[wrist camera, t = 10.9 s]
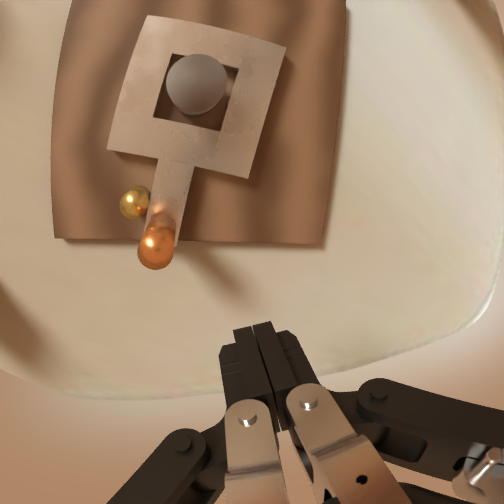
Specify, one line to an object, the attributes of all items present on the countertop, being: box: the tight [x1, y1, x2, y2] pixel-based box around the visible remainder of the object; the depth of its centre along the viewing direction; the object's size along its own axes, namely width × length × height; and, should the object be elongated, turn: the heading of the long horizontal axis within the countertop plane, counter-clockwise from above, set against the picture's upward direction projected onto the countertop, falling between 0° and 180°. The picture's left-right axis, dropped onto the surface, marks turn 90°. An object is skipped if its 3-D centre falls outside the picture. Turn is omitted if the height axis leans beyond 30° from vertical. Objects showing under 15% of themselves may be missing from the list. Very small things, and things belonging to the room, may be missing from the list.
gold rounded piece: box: [120, 186, 151, 219], centre depth 24 cm, size 2×2×3 cm
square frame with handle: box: [107, 15, 286, 270], centre depth 20 cm, size 19×12×7 cm, turn 164°
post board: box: [51, 0, 346, 244], centre depth 21 cm, size 26×26×7 cm
